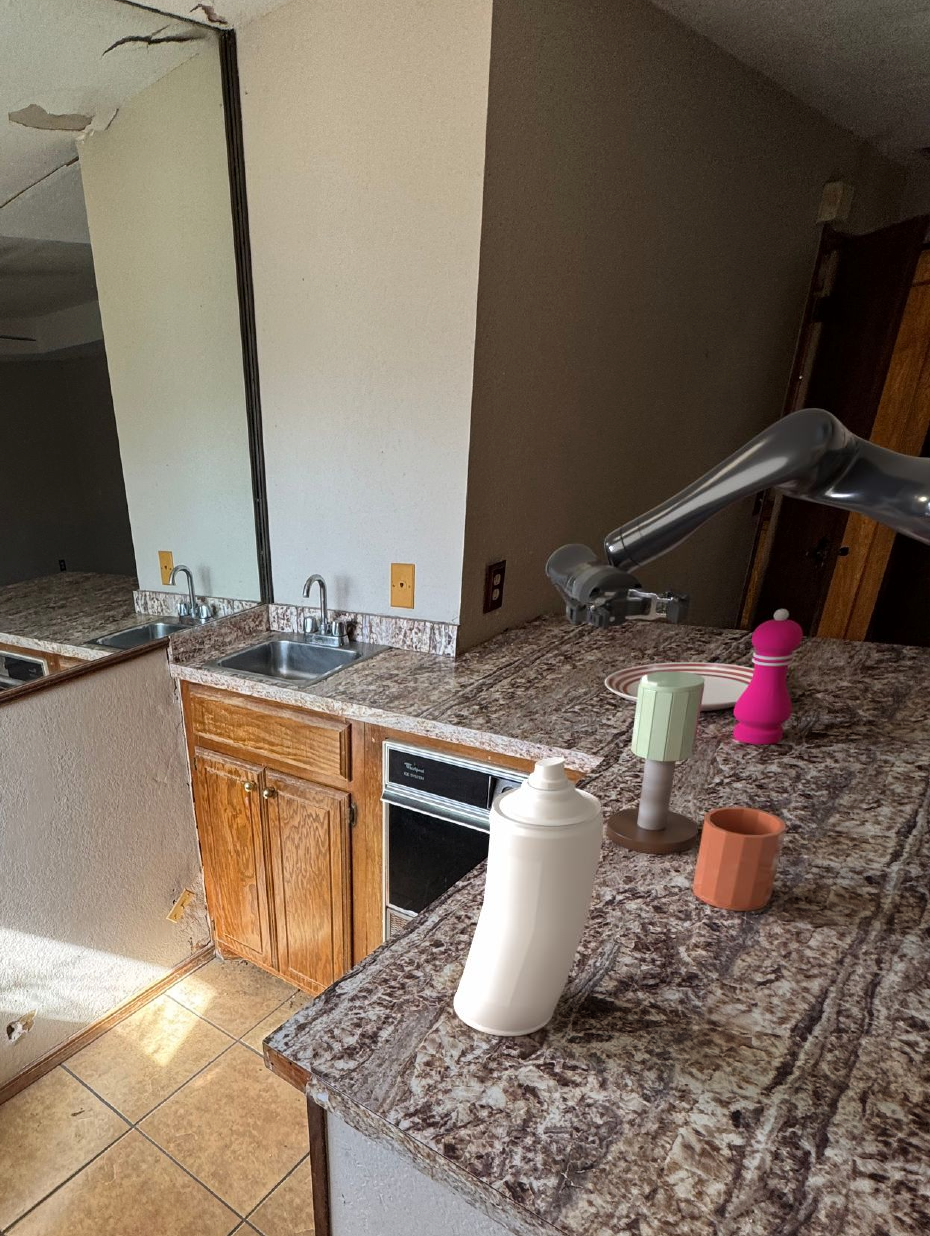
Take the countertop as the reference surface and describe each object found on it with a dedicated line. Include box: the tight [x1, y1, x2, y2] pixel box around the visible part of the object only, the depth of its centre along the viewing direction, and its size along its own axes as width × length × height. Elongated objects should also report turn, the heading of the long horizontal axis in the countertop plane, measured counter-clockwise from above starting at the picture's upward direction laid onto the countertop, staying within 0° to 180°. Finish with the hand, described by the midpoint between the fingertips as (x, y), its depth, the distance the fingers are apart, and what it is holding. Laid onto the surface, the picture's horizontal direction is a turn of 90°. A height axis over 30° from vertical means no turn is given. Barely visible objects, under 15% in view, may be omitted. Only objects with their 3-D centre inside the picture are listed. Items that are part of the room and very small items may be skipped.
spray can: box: [453, 756, 604, 1037], centre depth 66 cm, size 12×11×25 cm
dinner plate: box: [604, 661, 754, 712], centre depth 135 cm, size 28×27×3 cm
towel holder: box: [605, 759, 699, 855], centre depth 90 cm, size 10×10×20 cm
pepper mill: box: [732, 608, 804, 745], centre depth 112 cm, size 7×7×20 cm
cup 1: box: [630, 671, 704, 762], centre depth 88 cm, size 6×6×9 cm
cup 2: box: [692, 806, 787, 912], centre depth 79 cm, size 7×7×9 cm
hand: (643, 618), depth 93 cm, fingers open, 8 cm apart
